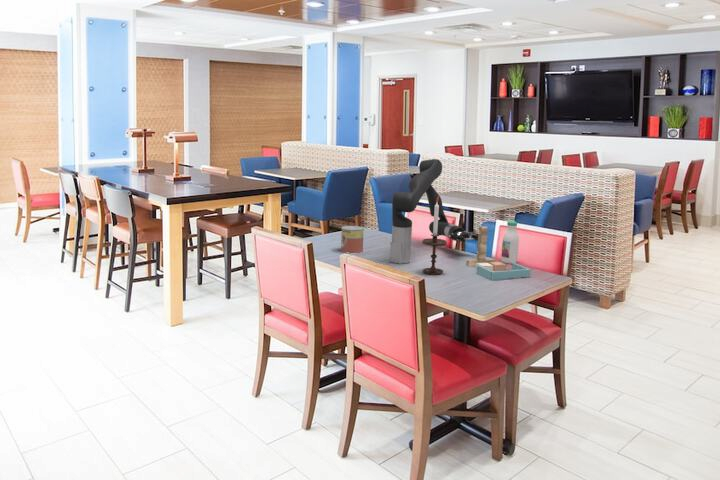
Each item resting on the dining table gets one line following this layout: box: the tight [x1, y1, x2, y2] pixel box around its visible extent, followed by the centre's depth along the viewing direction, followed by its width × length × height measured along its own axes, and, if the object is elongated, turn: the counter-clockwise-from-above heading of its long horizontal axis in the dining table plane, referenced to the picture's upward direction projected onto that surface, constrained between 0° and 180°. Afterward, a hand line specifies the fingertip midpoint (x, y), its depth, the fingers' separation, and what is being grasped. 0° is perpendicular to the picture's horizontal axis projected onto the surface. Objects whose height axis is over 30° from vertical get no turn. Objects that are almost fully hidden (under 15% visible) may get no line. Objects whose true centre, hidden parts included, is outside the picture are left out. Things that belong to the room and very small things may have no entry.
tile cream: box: [475, 263, 494, 272], centre depth 295 cm, size 6×6×3 cm
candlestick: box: [421, 195, 448, 276], centre depth 285 cm, size 11×11×35 cm
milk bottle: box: [500, 220, 520, 264], centre depth 310 cm, size 8×8×20 cm
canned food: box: [340, 225, 365, 255], centre depth 323 cm, size 11×11×12 cm
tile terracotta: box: [489, 261, 507, 272], centre depth 298 cm, size 6×6×3 cm
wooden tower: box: [465, 225, 496, 268], centre depth 303 cm, size 3×14×18 cm, turn 111°
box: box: [476, 263, 532, 281], centre depth 287 cm, size 12×20×4 cm, turn 112°
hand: (471, 239), depth 311 cm, fingers open, 8 cm apart
